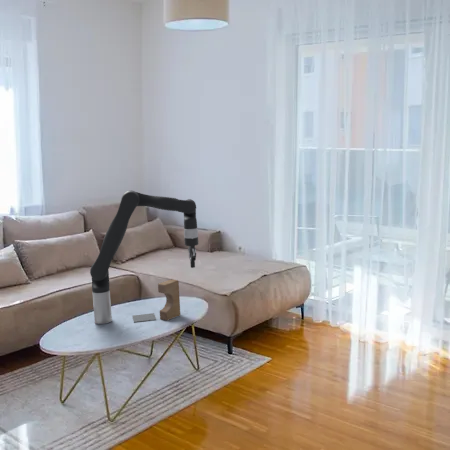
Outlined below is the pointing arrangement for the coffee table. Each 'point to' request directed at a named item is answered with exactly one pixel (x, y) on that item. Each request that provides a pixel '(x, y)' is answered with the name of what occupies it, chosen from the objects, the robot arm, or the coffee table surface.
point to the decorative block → (170, 299)
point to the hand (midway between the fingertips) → (192, 267)
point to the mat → (144, 317)
